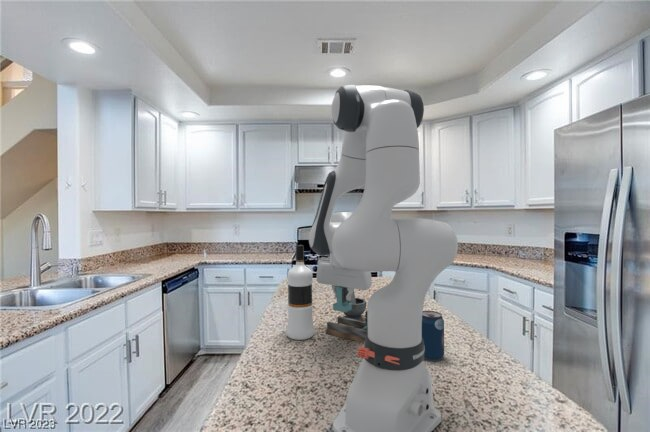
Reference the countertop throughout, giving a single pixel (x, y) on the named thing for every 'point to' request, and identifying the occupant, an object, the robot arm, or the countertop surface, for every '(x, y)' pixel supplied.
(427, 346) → the soda can
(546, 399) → the countertop surface
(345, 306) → the teal t-block
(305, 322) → the vodka
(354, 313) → the mortar and pestle
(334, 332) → the rail
